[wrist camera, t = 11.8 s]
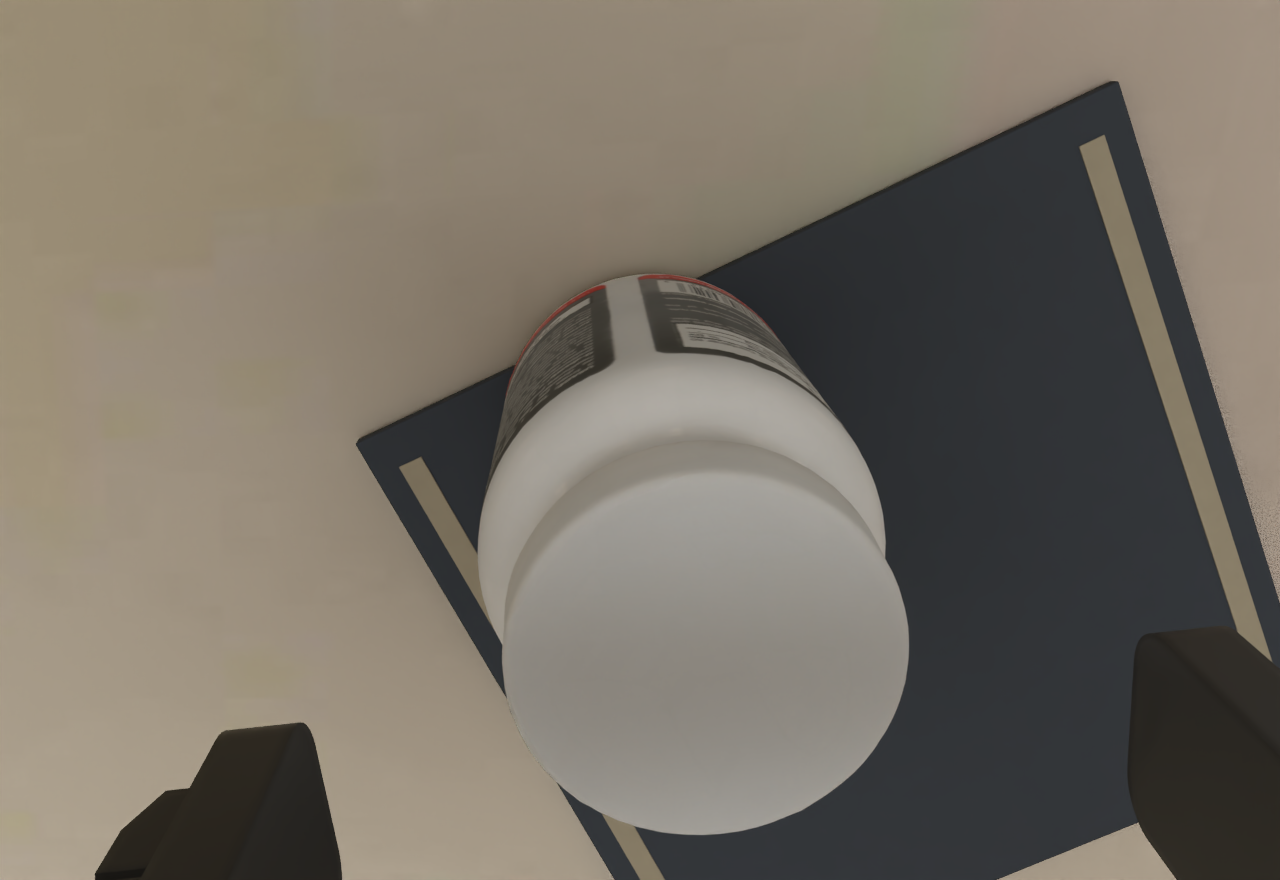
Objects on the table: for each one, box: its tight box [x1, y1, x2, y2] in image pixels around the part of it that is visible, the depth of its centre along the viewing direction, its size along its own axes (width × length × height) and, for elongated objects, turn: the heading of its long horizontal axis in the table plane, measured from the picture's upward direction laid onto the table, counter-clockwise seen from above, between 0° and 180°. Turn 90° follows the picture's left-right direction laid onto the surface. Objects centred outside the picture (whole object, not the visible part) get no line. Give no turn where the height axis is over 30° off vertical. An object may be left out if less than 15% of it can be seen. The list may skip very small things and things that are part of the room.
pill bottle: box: [478, 274, 909, 835], centre depth 17 cm, size 6×6×10 cm
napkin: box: [356, 81, 1280, 880], centre depth 24 cm, size 16×16×1 cm
